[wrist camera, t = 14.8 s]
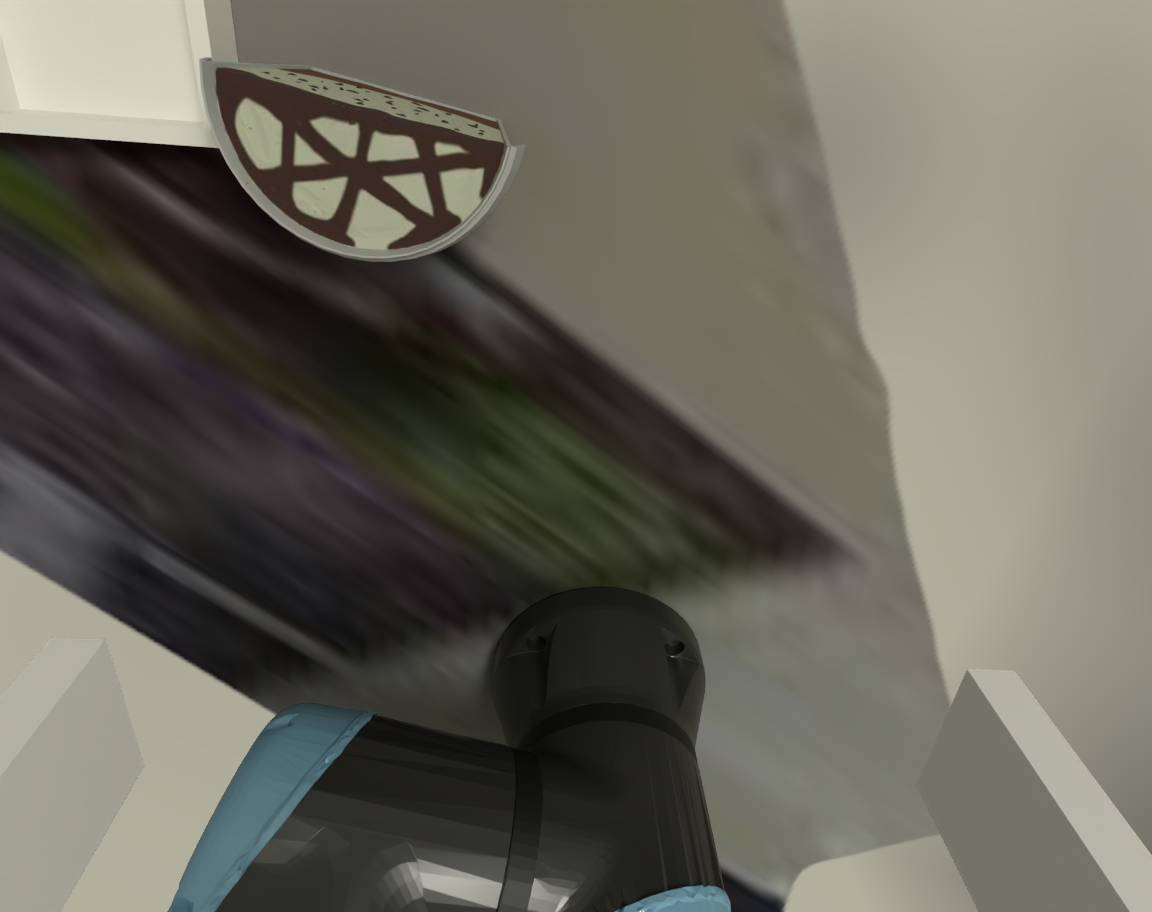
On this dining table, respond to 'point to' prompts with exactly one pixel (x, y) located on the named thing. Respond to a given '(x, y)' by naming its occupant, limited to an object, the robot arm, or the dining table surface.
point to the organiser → (111, 68)
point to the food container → (356, 158)
